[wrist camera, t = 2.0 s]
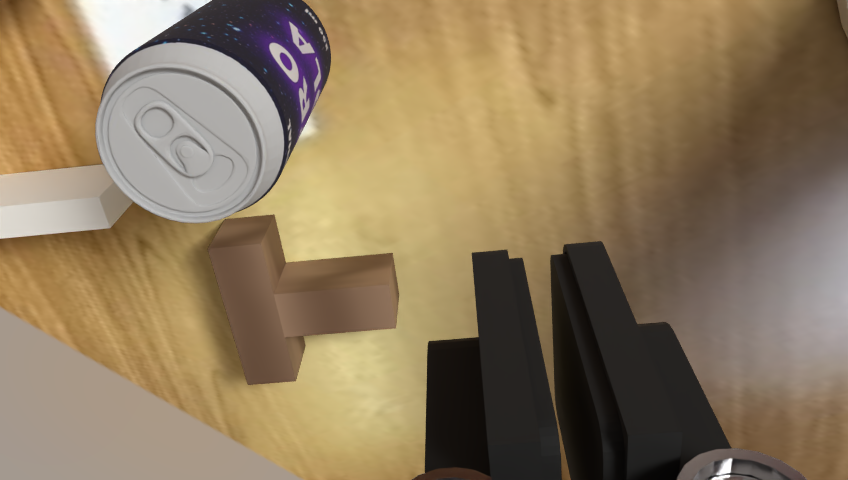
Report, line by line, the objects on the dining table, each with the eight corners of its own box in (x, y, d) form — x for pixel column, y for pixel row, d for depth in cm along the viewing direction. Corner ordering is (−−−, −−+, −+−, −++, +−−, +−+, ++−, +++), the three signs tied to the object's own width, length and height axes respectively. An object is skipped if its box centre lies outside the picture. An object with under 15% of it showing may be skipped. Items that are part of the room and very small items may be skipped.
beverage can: (268, 135, 33) (188, 267, 22) (176, 38, 31) (39, 133, 20) (360, 58, 31) (320, 163, 21) (268, -50, 29) (171, 4, 18)
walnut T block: (384, 204, 34) (380, 232, 32) (405, 337, 38) (403, 372, 36) (224, 219, 35) (207, 248, 32) (260, 348, 39) (247, 384, 36)
